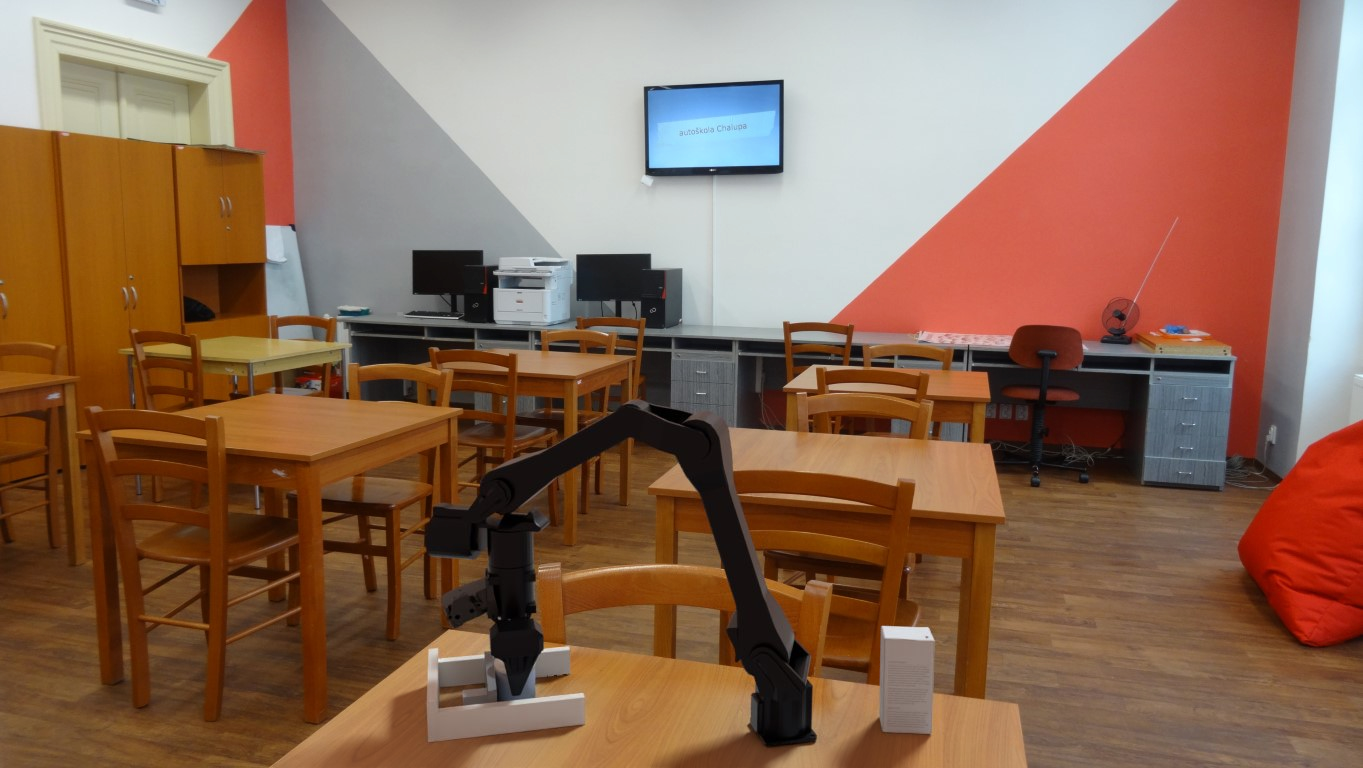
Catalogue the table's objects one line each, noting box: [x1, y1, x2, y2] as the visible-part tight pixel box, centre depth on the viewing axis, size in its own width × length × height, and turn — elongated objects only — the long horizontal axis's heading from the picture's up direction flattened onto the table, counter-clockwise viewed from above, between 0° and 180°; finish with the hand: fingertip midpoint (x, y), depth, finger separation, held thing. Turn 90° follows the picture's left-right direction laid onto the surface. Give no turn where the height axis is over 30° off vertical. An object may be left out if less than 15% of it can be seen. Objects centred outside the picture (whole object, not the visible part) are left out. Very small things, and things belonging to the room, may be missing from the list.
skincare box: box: [878, 625, 936, 735], centre depth 116 cm, size 6×4×12 cm
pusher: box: [461, 650, 497, 706], centre depth 121 cm, size 4×12×4 cm, turn 14°
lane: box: [426, 645, 586, 743], centre depth 122 cm, size 19×15×5 cm
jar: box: [494, 658, 537, 702], centre depth 122 cm, size 5×5×6 cm
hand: (513, 679), depth 122 cm, fingers open, 9 cm apart
